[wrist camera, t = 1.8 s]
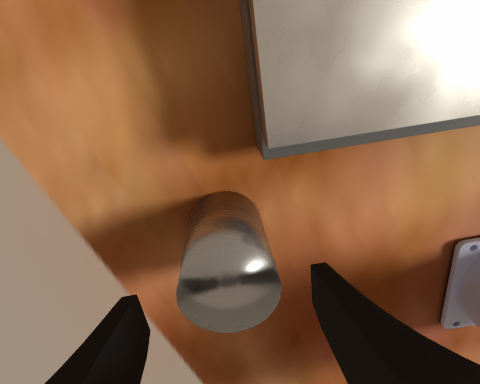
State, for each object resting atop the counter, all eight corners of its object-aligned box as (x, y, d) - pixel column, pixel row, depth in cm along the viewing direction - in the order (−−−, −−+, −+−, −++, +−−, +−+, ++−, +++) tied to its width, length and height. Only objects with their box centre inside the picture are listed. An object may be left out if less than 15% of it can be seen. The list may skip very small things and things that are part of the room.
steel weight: (256, 185, 17) (276, 242, 11) (264, 247, 18) (285, 323, 13) (182, 197, 16) (164, 260, 11) (197, 259, 18) (189, 340, 13)
